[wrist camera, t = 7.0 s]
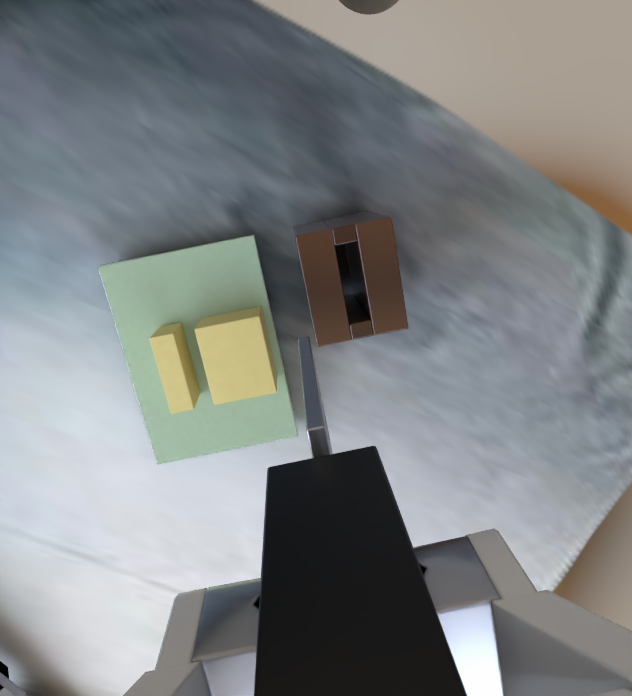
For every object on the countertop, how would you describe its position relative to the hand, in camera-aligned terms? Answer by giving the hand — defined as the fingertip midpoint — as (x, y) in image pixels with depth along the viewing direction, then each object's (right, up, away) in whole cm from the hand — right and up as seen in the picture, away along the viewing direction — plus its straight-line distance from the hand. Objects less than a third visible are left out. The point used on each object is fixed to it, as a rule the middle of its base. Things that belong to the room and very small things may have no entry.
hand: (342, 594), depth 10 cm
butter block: (-5, +4, +28) cm, 29 cm away
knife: (-1, +3, +11) cm, 11 cm away
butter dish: (-8, +4, +29) cm, 30 cm away
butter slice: (-9, +3, +28) cm, 30 cm away
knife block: (+1, +10, +28) cm, 29 cm away
